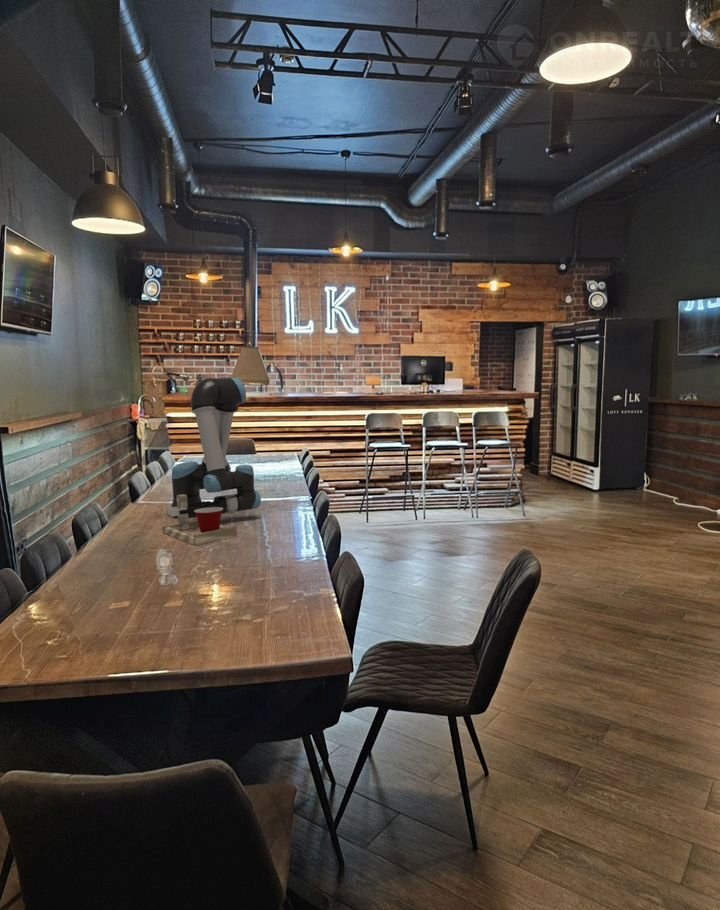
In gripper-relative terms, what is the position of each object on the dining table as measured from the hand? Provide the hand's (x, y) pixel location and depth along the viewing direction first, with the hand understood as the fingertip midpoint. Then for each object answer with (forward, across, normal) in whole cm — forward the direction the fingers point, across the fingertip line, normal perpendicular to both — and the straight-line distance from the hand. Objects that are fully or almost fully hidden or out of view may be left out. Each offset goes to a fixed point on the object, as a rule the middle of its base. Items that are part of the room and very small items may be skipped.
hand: (169, 512), depth 234 cm
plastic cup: (-9, -21, -8) cm, 24 cm away
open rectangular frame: (-8, -12, -8) cm, 16 cm away
